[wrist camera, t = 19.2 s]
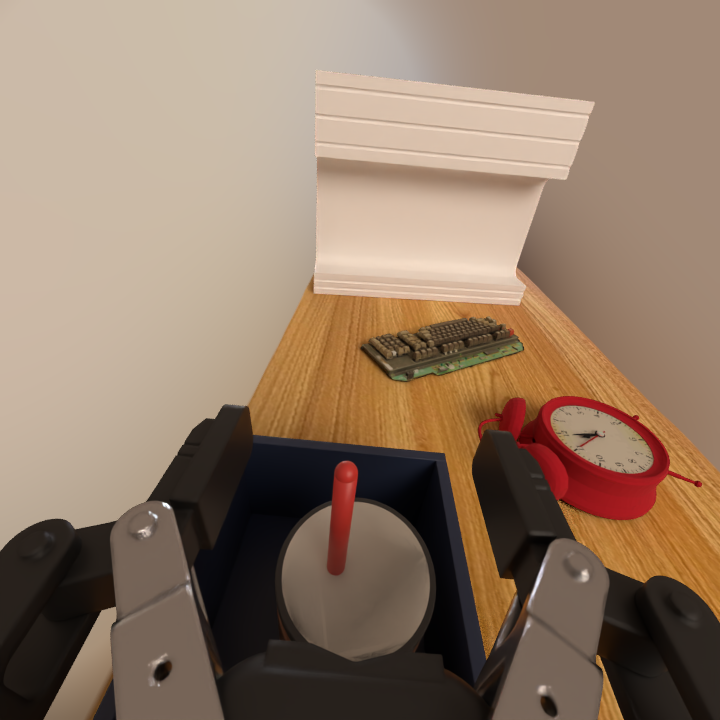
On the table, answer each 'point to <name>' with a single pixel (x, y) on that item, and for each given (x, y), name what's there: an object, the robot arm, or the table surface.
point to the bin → (290, 504)
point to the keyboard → (442, 347)
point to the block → (432, 185)
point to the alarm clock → (592, 454)
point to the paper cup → (354, 577)
